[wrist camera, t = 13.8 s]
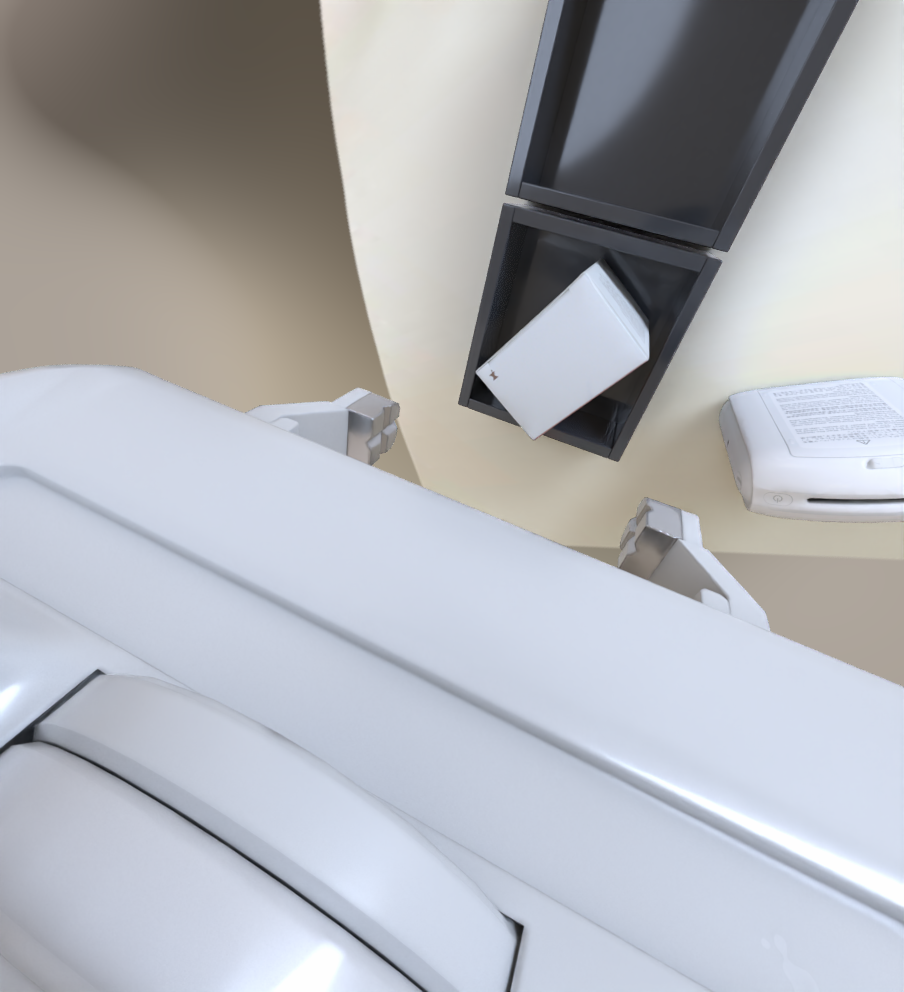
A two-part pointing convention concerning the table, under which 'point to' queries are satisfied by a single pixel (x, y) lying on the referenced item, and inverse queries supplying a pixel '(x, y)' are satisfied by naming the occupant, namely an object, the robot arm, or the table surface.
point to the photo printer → (820, 449)
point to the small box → (569, 351)
